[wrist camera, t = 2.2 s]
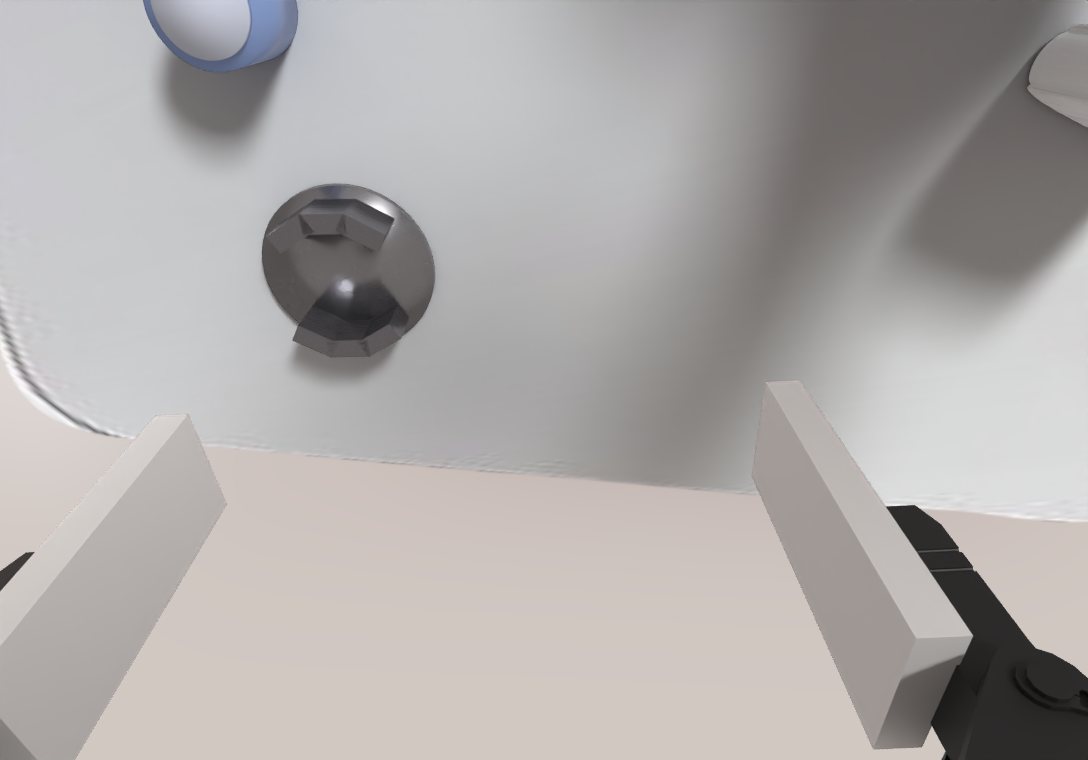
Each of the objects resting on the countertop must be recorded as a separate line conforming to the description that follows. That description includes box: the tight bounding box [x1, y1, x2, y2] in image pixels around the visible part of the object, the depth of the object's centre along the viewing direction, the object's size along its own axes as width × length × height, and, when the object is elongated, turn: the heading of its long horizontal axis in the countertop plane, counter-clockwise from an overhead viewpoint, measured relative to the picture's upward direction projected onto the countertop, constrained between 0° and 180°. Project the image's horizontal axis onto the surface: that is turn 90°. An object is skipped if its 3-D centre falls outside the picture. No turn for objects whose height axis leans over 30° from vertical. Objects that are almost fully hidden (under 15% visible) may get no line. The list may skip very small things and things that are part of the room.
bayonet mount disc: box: [262, 184, 435, 357], centre depth 40 cm, size 11×11×4 cm
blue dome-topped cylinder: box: [143, 0, 298, 72], centre depth 32 cm, size 6×6×5 cm
